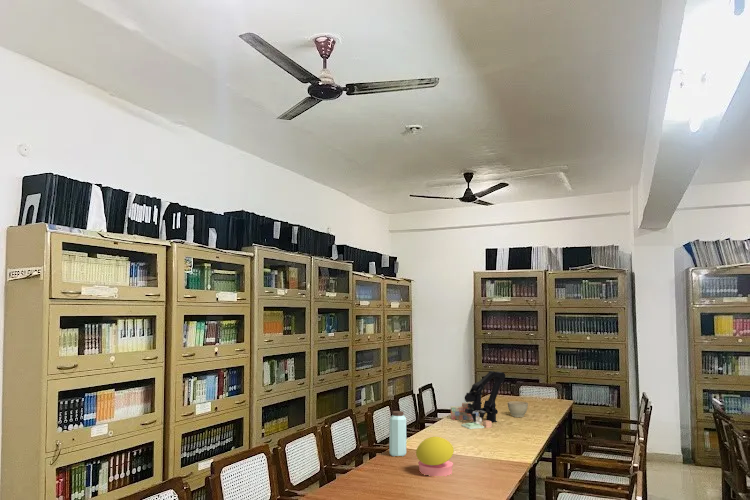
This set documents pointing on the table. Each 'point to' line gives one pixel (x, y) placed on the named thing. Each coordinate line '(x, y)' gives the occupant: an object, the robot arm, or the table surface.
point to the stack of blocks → (461, 412)
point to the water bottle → (397, 434)
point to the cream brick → (478, 420)
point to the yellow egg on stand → (435, 456)
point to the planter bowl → (517, 408)
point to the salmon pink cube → (487, 424)
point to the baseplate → (472, 425)
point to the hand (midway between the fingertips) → (477, 422)
